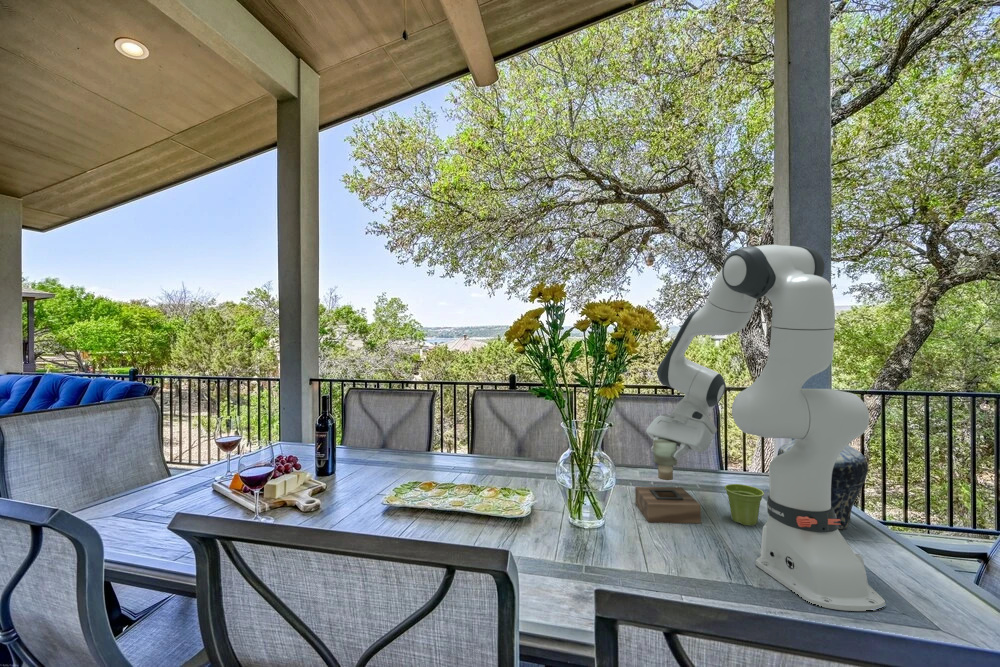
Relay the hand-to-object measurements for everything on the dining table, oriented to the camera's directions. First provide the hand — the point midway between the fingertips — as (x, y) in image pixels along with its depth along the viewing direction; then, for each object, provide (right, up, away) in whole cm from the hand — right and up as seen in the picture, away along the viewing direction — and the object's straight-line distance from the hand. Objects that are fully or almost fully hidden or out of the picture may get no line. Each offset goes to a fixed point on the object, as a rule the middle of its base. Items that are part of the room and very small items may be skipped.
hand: (663, 454), depth 123 cm
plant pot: (+20, -17, -7) cm, 27 cm away
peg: (+1, -7, 0) cm, 7 cm away
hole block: (+1, -17, 0) cm, 17 cm away
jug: (+40, -16, -8) cm, 44 cm away
